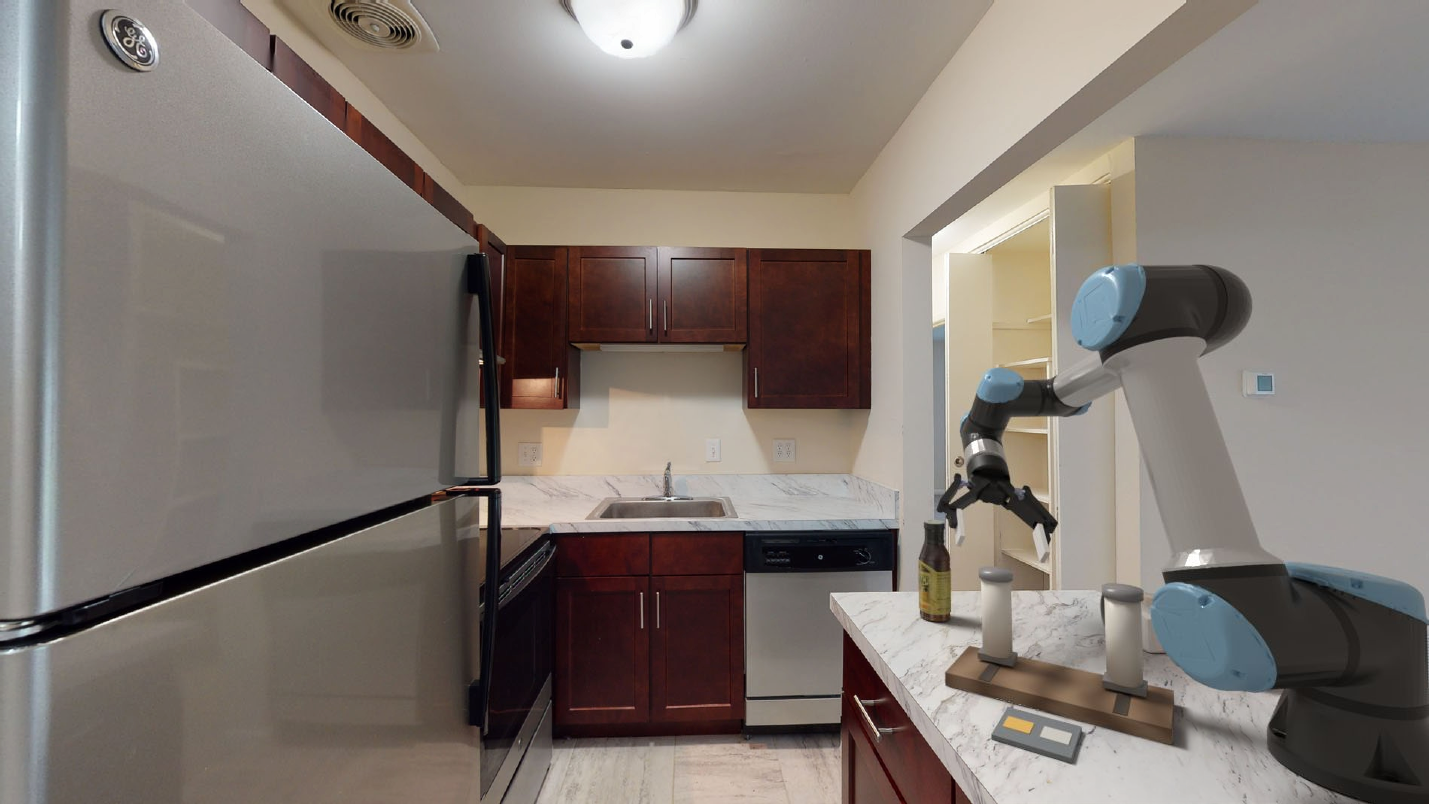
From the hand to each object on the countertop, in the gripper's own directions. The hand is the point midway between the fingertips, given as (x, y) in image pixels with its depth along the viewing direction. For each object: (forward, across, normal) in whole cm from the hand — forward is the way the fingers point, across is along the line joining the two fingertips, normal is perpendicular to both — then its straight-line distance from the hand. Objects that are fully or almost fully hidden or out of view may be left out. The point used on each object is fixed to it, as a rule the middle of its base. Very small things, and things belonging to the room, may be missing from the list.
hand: (1002, 549), depth 102 cm
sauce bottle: (-4, +4, -28) cm, 28 cm away
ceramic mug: (-6, -30, -22) cm, 37 cm away
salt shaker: (+2, -30, -16) cm, 34 cm away
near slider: (+19, -15, -3) cm, 25 cm away
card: (+31, 0, -1) cm, 31 cm away
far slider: (+14, 0, -10) cm, 18 cm away
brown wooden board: (+20, -7, -7) cm, 22 cm away
